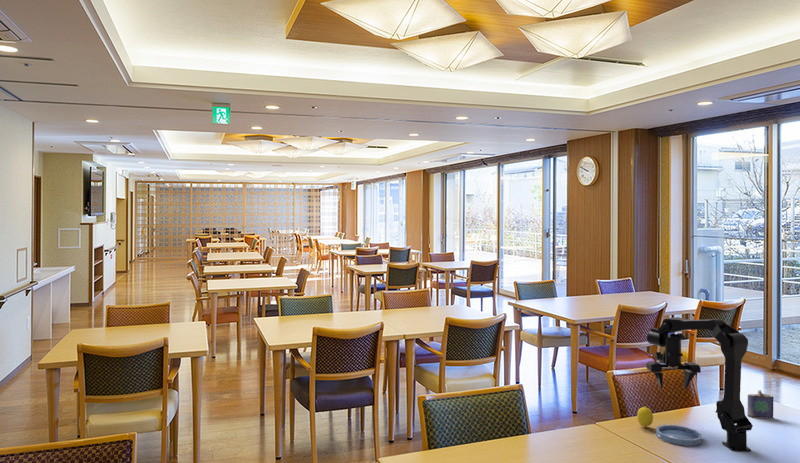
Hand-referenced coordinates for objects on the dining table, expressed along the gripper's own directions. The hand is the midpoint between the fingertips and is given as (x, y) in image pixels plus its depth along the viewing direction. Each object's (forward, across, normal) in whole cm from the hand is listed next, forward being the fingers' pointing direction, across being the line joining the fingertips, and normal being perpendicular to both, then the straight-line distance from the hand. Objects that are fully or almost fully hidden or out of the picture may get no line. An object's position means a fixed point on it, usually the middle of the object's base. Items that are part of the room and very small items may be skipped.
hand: (673, 388), depth 209 cm
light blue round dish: (+13, +5, +16) cm, 21 cm away
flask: (+14, -38, -10) cm, 42 cm away
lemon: (+14, +13, +6) cm, 20 cm away
